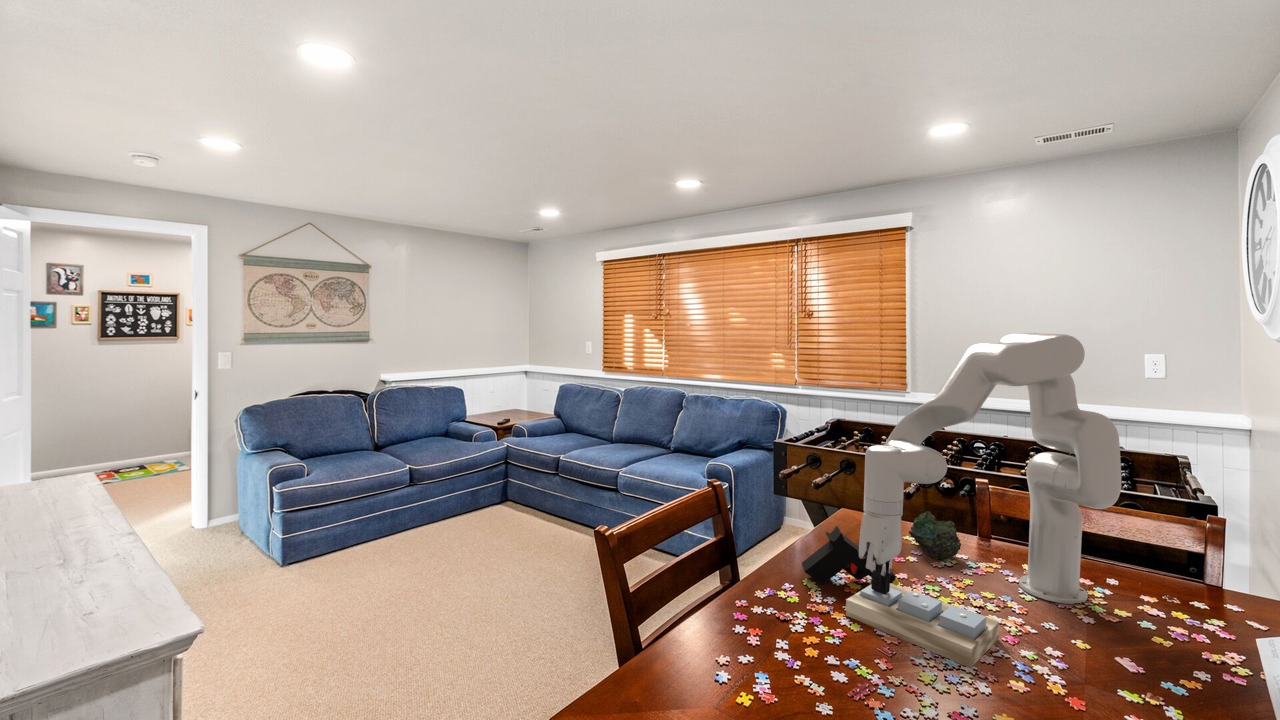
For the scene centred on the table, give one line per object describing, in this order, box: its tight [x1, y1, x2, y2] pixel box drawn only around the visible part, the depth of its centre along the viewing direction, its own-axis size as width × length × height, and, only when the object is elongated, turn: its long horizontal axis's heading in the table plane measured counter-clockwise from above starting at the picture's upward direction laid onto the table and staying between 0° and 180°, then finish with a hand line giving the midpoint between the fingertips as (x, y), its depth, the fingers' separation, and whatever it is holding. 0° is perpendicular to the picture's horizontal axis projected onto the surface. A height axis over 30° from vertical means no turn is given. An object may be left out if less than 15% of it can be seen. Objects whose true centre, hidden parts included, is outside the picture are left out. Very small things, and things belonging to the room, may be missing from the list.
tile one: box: [940, 604, 987, 640], centre depth 109 cm, size 6×6×3 cm
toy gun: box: [801, 525, 900, 586], centre depth 135 cm, size 5×18×12 cm
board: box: [845, 584, 1000, 669], centre depth 115 cm, size 14×24×4 cm, turn 40°
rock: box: [908, 510, 962, 561], centre depth 152 cm, size 14×11×10 cm
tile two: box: [898, 590, 943, 623], centre depth 115 cm, size 6×6×3 cm
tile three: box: [860, 584, 902, 607], centre depth 121 cm, size 6×6×3 cm
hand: (880, 590), depth 121 cm, fingers closed
